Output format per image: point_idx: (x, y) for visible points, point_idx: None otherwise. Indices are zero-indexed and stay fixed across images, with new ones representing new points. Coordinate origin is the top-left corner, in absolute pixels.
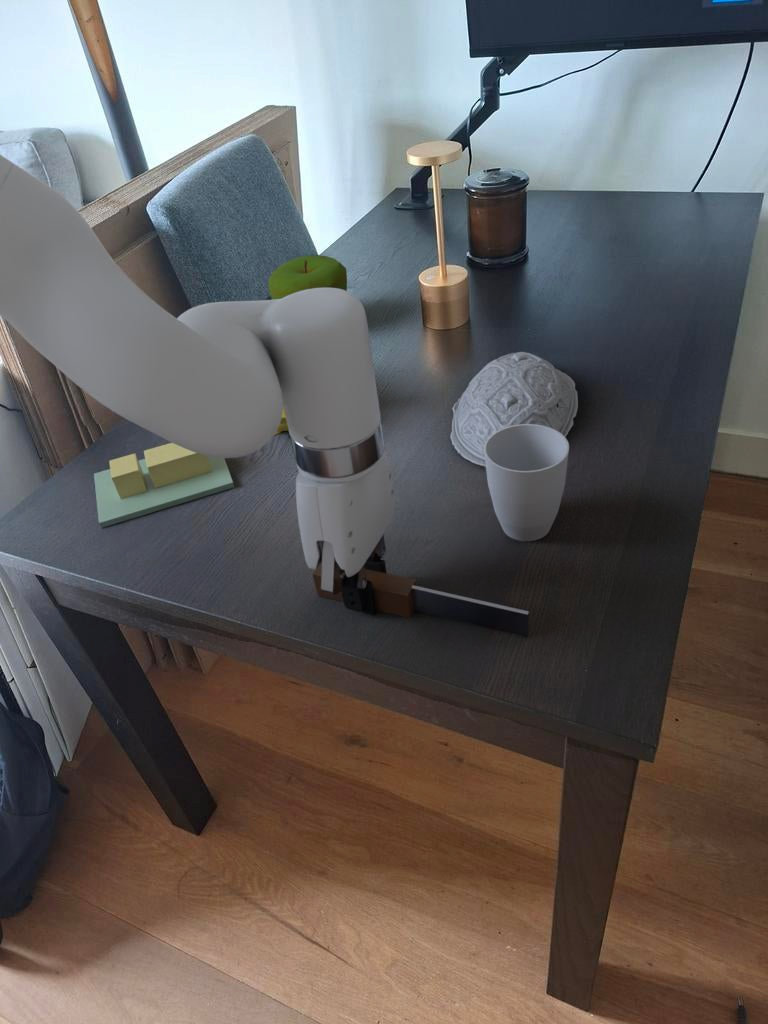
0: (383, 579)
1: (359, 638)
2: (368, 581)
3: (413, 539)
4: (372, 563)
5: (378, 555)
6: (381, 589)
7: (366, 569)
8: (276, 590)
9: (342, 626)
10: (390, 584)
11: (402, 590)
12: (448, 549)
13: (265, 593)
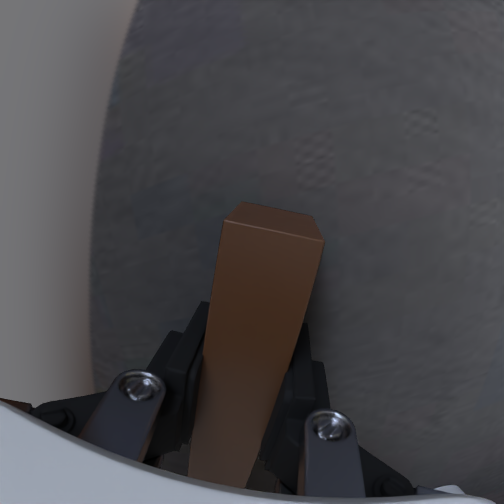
0: (231, 447)
1: (122, 344)
2: (177, 445)
3: (451, 393)
4: (267, 447)
5: (277, 481)
6: (191, 444)
7: (272, 407)
8: (252, 58)
9: (143, 301)
10: (216, 458)
11: (201, 475)
12: (404, 451)
13: (235, 31)
